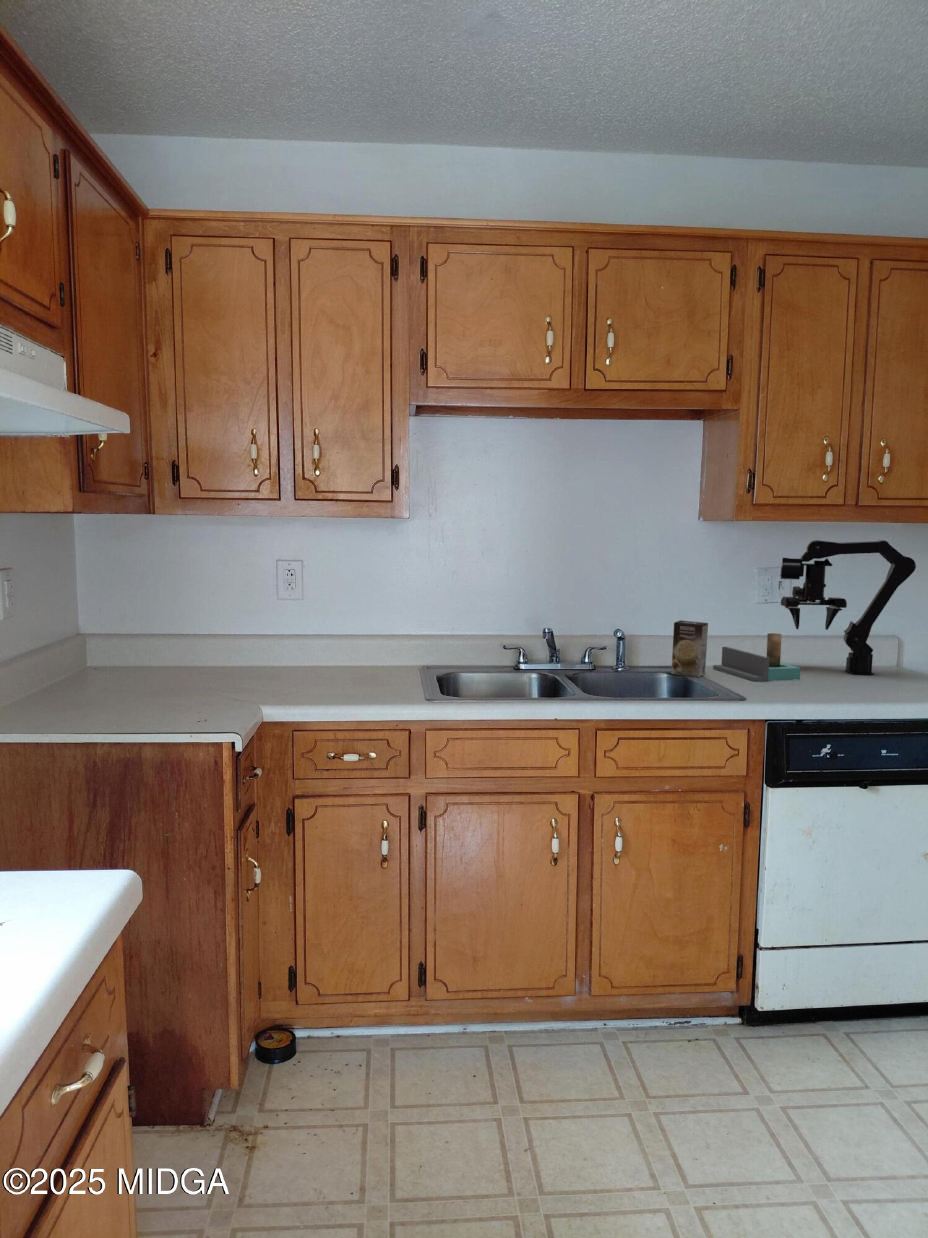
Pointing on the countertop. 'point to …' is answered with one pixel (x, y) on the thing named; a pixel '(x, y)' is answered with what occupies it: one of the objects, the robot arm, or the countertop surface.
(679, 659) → the coffee box
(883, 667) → the countertop surface
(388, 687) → the countertop surface
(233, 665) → the countertop surface
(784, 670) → the socket block
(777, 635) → the dowel
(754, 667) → the backstop wall
